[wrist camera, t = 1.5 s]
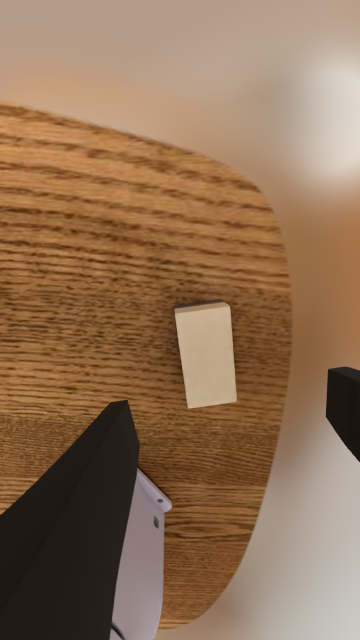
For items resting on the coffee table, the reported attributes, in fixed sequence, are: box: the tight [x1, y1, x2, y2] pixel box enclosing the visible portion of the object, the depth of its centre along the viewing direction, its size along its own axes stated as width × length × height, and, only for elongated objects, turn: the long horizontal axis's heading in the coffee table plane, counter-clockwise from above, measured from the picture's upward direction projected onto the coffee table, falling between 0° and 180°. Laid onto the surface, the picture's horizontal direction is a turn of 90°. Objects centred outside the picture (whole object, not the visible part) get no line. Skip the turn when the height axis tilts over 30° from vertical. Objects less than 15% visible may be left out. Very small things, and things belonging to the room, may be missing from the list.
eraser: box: [174, 299, 237, 409], centre depth 16 cm, size 7×4×2 cm, turn 7°
